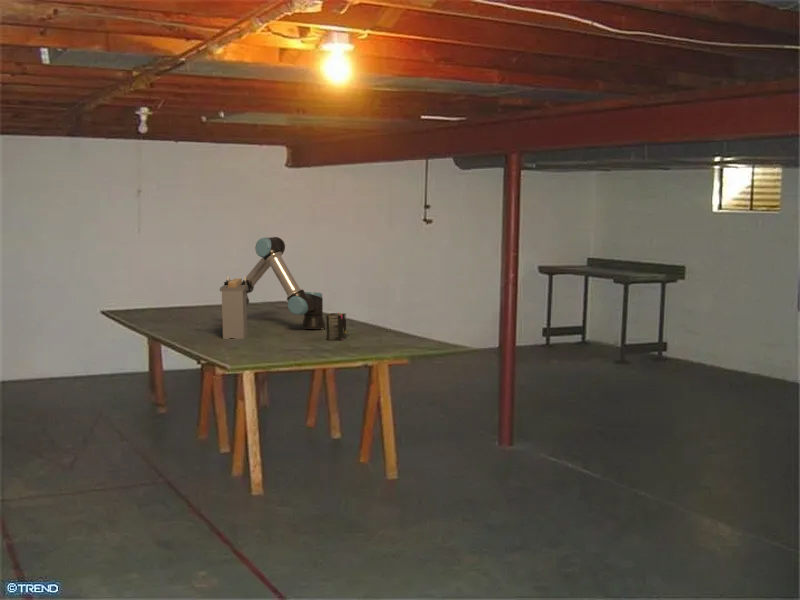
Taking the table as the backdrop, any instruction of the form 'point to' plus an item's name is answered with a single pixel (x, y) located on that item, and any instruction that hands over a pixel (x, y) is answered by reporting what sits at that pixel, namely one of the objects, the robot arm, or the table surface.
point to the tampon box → (336, 326)
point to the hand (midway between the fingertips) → (236, 278)
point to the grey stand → (234, 312)
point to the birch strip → (234, 283)
